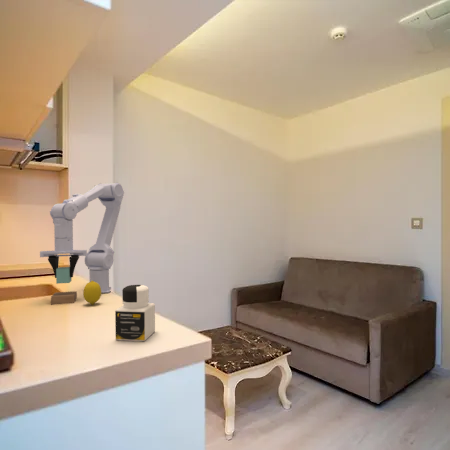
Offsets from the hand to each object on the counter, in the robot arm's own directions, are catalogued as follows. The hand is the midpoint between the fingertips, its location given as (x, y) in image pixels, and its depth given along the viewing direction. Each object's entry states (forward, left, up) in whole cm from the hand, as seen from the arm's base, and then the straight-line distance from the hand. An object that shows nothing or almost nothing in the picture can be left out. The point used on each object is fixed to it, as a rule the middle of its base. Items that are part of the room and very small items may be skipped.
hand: (64, 277), depth 115 cm
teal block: (0, 0, -2) cm, 2 cm away
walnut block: (0, 0, -9) cm, 9 cm away
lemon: (+8, +10, -9) cm, 15 cm away
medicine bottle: (+43, +24, -9) cm, 50 cm away
